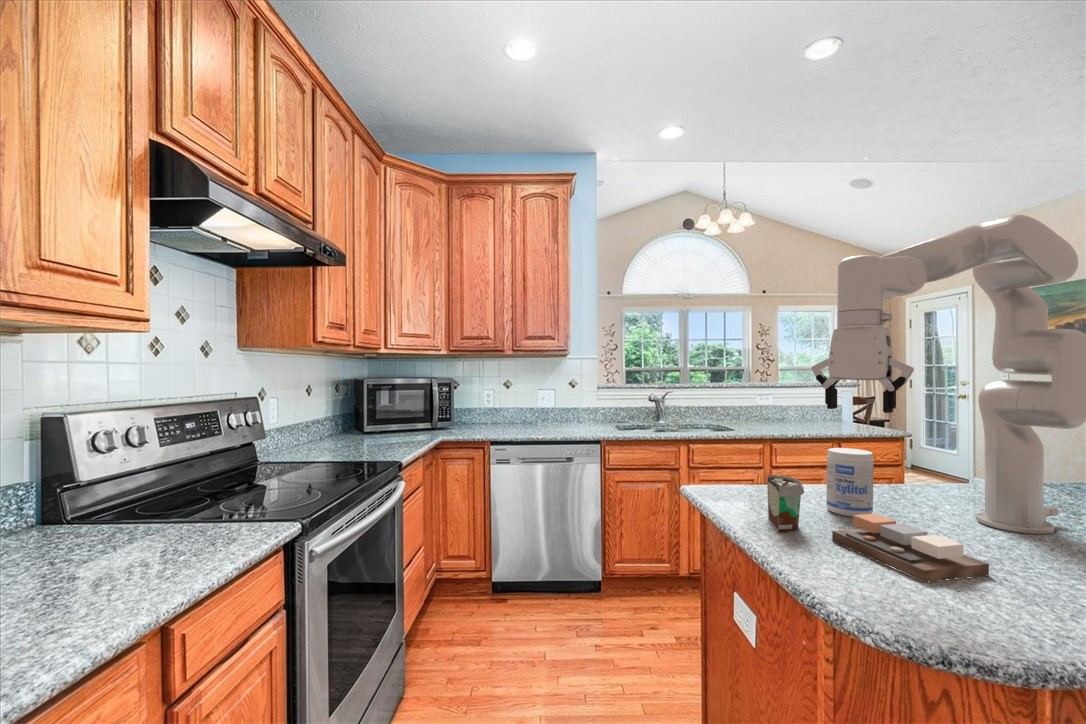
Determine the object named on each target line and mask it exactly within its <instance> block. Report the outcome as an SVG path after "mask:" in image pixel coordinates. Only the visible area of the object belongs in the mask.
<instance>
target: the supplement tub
mask: <svg viewBox="0 0 1086 724" xmlns="http://www.w3.org/2000/svg"><path fill="white" fill-rule="evenodd" d="M826 455H827V456H826V499H825V500H826V501H825V502H826V503H825V505H826V509H827V510H828V511H830V512H832V513H834V514H837V515H841V516H844V517H852V518H853V515H862V514H874V512H873V511H874V458H873V457H874V454H873V452H872V451H869V450H865V449H858V448H851V447H850V448H849V447H848V448H847V447H832V448H828V449H827V454H826Z"/></svg>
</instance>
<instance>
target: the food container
mask: <svg viewBox="0 0 1086 724" xmlns="http://www.w3.org/2000/svg"><path fill="white" fill-rule="evenodd" d="M766 475H767V477H766V484H767V512H768V513H767V515H768V516H767V517H768V518H767V519H768V520H769V522H770V523H771V524H772V526H773V527H774V528H775V530H776V531H777V532H778V533H780V534H781V533H782V532H783V534H785V533H794V532H796V531H798V530H799V522H800V512H801V511H800V509H801V499H802V497H801V496H802V495H804V494H805V489H804V485H803V484H802V481H801V480H800V479H797V478H793V477H790V476H784V475H779V474H766Z"/></svg>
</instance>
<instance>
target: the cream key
mask: <svg viewBox="0 0 1086 724" xmlns="http://www.w3.org/2000/svg"><path fill="white" fill-rule="evenodd" d="M912 548H913V549H915V550H918V551H920V552H923V553H925V554H928V555H930V556H933V557H935V558H938V559H942V558H952V557H962V556H963V555H964V544H963V543H961V542H960V543H959V542H958V541H955V540H951V539H948V538H945V537H943V536H940V535H937V534H927V535H926V536H914V537H912Z"/></svg>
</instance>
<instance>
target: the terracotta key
mask: <svg viewBox="0 0 1086 724" xmlns="http://www.w3.org/2000/svg"><path fill="white" fill-rule="evenodd" d="M890 524H897V520H894V519H891V518H888V517H885V516H882V515H880V514H877V513H872V514H862V515H853V517H852V525H853V526H855V527H856V528H857V527H858V529H864V530H867V531H869V532H872V533H881V528H880V525H890Z"/></svg>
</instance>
